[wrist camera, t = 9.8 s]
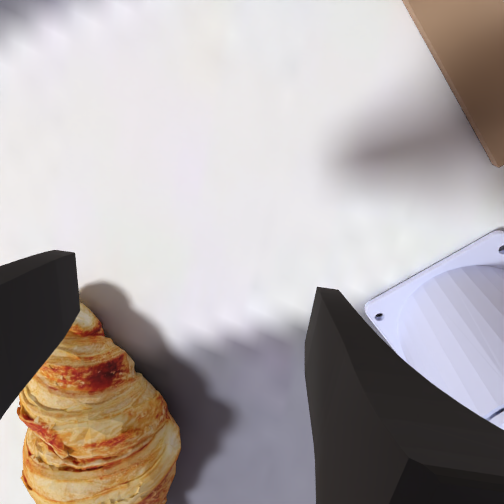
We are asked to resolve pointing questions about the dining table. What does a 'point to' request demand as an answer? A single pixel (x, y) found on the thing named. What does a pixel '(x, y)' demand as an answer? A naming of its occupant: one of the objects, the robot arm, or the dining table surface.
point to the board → (469, 60)
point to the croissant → (95, 425)
